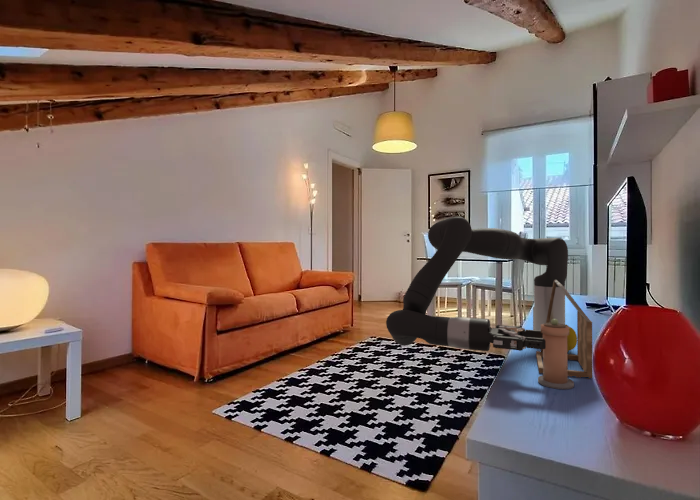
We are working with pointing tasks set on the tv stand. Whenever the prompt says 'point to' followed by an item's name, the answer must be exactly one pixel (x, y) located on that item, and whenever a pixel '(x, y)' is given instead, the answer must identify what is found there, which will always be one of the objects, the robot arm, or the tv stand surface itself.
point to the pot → (555, 352)
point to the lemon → (571, 339)
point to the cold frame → (582, 338)
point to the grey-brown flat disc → (556, 386)
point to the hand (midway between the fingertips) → (544, 339)
